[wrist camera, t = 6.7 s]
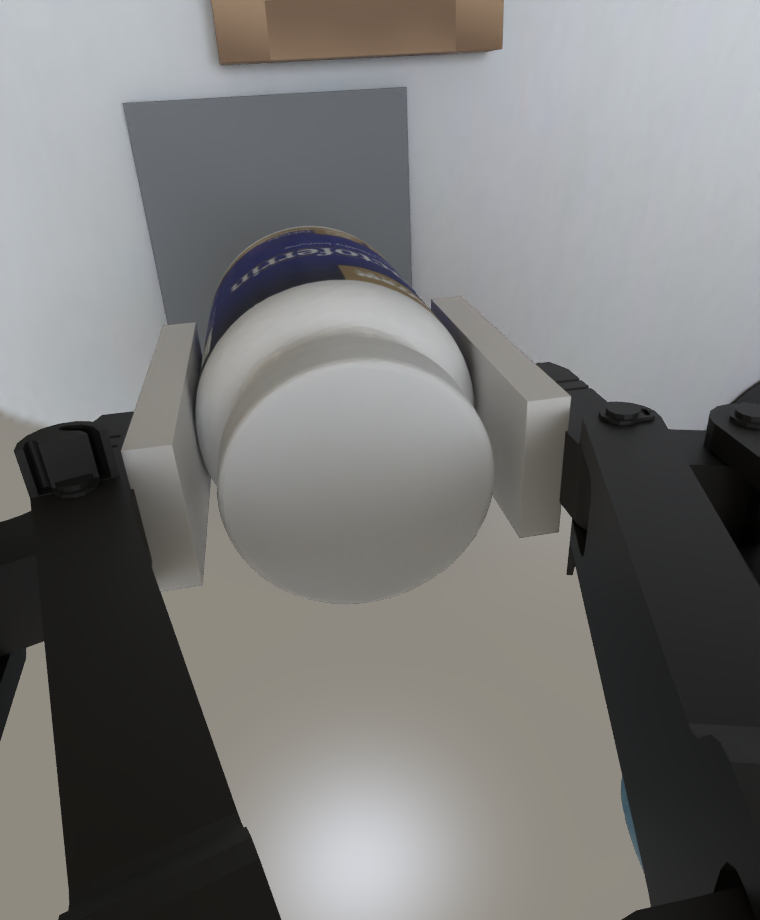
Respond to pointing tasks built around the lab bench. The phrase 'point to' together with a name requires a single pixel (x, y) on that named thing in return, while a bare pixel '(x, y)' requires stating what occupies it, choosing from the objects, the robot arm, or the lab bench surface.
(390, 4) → the wooden square frame
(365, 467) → the pill bottle
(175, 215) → the rubber mat
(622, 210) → the lab bench surface
